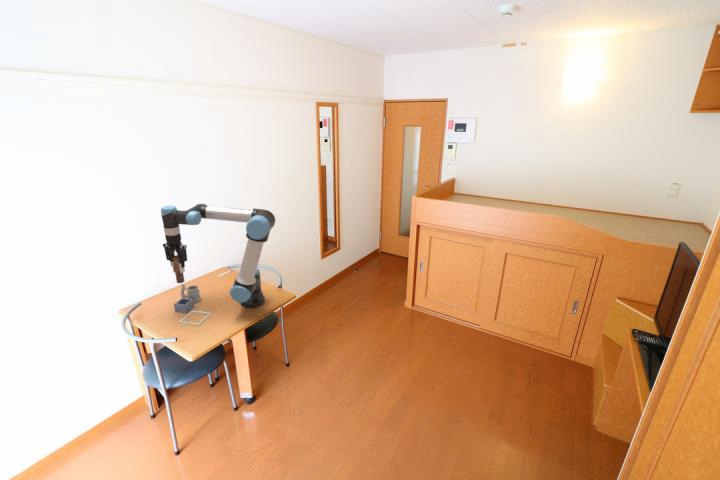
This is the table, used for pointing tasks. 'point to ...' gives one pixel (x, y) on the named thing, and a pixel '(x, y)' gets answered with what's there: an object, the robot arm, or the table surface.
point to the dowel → (178, 270)
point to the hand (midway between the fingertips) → (179, 271)
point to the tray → (195, 323)
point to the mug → (191, 293)
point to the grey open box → (184, 305)
